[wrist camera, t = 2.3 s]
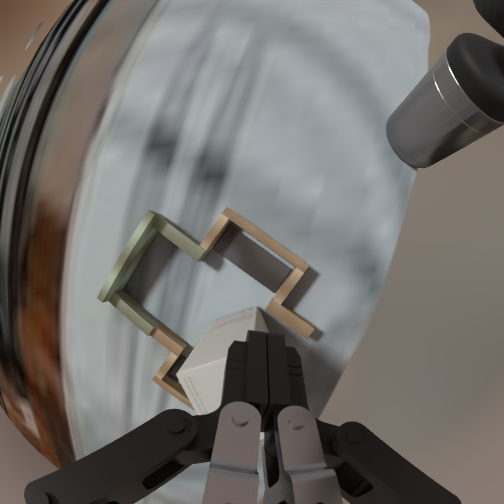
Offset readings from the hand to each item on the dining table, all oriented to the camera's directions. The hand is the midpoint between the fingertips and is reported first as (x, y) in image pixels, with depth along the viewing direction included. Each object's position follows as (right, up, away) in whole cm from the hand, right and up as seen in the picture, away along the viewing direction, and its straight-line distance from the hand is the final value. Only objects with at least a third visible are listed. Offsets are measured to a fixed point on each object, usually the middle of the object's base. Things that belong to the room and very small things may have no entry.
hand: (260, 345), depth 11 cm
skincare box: (-1, -7, +22) cm, 23 cm away
